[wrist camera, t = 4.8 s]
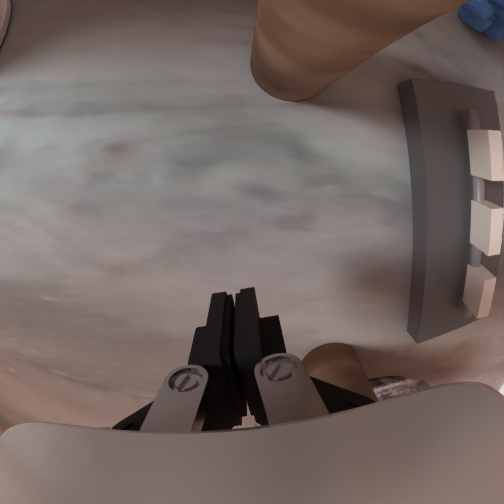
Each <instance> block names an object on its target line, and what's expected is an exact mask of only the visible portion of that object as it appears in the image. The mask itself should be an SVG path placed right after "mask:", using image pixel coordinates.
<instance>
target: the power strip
mask: <svg viewBox="0 0 504 504" xmlns="http://www.w3.org/2000/svg"><path fill="white" fill-rule="evenodd" d="M397 85H398V89H399V94H400V99H401V105H402V110H403V116H404V122H405V129H406V136H407V143H408V152H409V161H410V172H411V185H412V203H413V267H412V285H411V298H410V309H409V319H408V327H407V332H408V333H409V334H410V335H411V337H412V338H413V339H414V340H415V342H416V343H417V344H418V343H421V342H424V341H426V340H429V339H432V338H434V337H437V336H440V335H442V334H445V333H447V332H450V331H452V330H455V329H457V328H459V327H462V326H464V325H467V324H469V323H471V322H473V321H476V320H478V319H477V318H476V317H475V316H474V314H473V313H472V315H471V317H470V318H464V317H462V316H461V312H462V307H463V301H462V300H463V295H464V288H465V281H466V274H467V266H468V264H469V259H470V248H471V243H470V229H471V200H473V190H472V175H471V171H470V156H469V145H468V135H467V130H468V124H467V117H466V111H465V110H478V114H479V121H480V128H481V130H496V131H500V125H499V118H498V111H497V105H496V100H495V94H494V91H489V90H485V89H480V88H475V87H470V86H464V85H458V84H452V83H445V82H437V81H429V80H419V79H410V80H407V81H404V82H401V83H399V84H397ZM484 183H485V200H487V201H489V202H491V203H493V204H496V205H498V206H500V207H502V208H503V195H504V183H503V181H490V180H487V179H484ZM498 261H499V254H498V255H492V256H487V255H486V254H485V253H483V252H482V254H481V262H480V264H481V265H483V266H484V267H485V268H486V269H487V270H488V271H489V272H490V273H492V274H493V275H494V276H495V277H496V274H497V268H498ZM479 319H480V318H479Z"/></svg>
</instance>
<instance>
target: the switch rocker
mask: <svg viewBox="0 0 504 504" xmlns="http://www.w3.org/2000/svg"><path fill="white" fill-rule="evenodd" d="M465 111H466V117H467V124H468V130H467V135H468V145H469V156H470V171H471V175H472V190H473V200H471V229H470V243H471V248H470V259H469V264H468V266H467V274H466V281H465V288H464V295H463V300H462V301H463V307H462V312H461V316H462V317H464V318H470V317H471V315H472V313H473V314H474V316H475V317H476V318H477V319H479V318H483V317H487V316H489V312H490V308H491V303H492V299H493V294H494V289H495V283H496V277H495V276H494V275H493V274H492V273H490V272H489V271H488V270H487V269H486V268H485V267H484V266H483V265H481V264H480V262H481V254H482V252H483V253H485V254H486V255H487V256H492V255H498V254H500V250H501V241H502V230H503V215H504V208H502V207H500V206H498V205H496V204H493V203H491V202H489V201H487V200H485V183H484V179H487V180H490V181H504V163H503V148H502V137H501V131H496V130H481V128H480V121H479V114H478V110H465Z"/></svg>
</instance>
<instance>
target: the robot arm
mask: <svg viewBox="0 0 504 504" xmlns="http://www.w3.org/2000/svg"><path fill="white" fill-rule="evenodd" d="M10 15H11V3H10V0H0V46H1V44H2V41H3V39H4V36H5V33H6V30H7V27H8V24H9V19H10ZM247 403H248V407H249V410H250V413H251V416H252V415H254V417H255V421H256V422H257V423H258V424H260V425H262V426H257V427H249V428H239V429H232V428H233V427H234V426H238V425H242V417H243V416H247ZM0 504H504V396H503V395H502V394H501V393H500V392H498V391H497V390H496V389H494V388H493V387H491V386H489V385H487V384H483V383H480V382H456V383H447V384H442V385H436V386H431V387H427V388H423V389H419V390H415V391H412V392H409V393H406V394H401V395H394V396H386V397H382V401H374V400H373V399H371V398H369V397H367V396H364V395H361V394H358V393H355V392H353V391H350V390H347V389H344V388H341V387H338V386H336V385H333V384H330V383H327V382H325V381H322V380H319V379H317V378H314V377H312V376H309V374H308V373H307V371H306V369H305V367H304V365H303V363H302V361H301V360H300V359H299V358H298V357H296V356H294V355H292V354H288V353H286V348H285V344H284V339H283V335H282V330H281V325H280V321H279V316H278V315H276V316H270V317H264V318H260V316H259V311H258V305H257V300H256V294H255V289H254V287H252V288H245V289H240V293H237V294H236V297H235V305H234V301H233V297H232V294H231V295H227V293H226V292H220V293H214V294H212V297H211V302H210V307H209V313H208V318H207V323H206V326H203V327H197V328H196V330H195V335H194V339H193V343H192V347H191V352H190V356H189V361H188V365H184V366H181V367H178V368H176V369H174V370H172V371H171V372H170V373H169V374H168V375H167V376H166V378H165V379H164V381H163V383H162V385H161V387H160V390H159V392H158V394H157V396H156V398H155V400H154V401H153V402H151V403H149V404H148V405H146V406H145V407H143V408H141V409H140V410H138V411H137V412H135V413H133V414H132V415H130V416H128V417H127V418H125V419H124V420H122V421H120V422H119V423H117V424H116V425H115V426H113V428H112V429H110V428H109V427H100V428H94V427H86V426H77V425H69V424H61V423H53V422H29V423H23V424H18V425H15V426H13V427H10V428H9V429H7V430H6V431H5V432H4V433H3V434H2V436H1V437H0Z"/></svg>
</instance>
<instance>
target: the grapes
mask: <svg viewBox="0 0 504 504" xmlns="http://www.w3.org/2000/svg"><path fill="white" fill-rule="evenodd" d="M461 6H462V7H461V8H460V10H459V13H458V14H459V16H460V19H461V20H462V21H463V22H464V23H465V24H467V25H468V26H470V27H472V28H473V29H475V30H477V31H479V32H483V33H484V34H485V35H487V36H488V37H490V38H491V39H493V40H495V41H497V42H500V41H501V40H503V39H504V0H469V1H468V2H466V3H465V4H462V5H461Z"/></svg>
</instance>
